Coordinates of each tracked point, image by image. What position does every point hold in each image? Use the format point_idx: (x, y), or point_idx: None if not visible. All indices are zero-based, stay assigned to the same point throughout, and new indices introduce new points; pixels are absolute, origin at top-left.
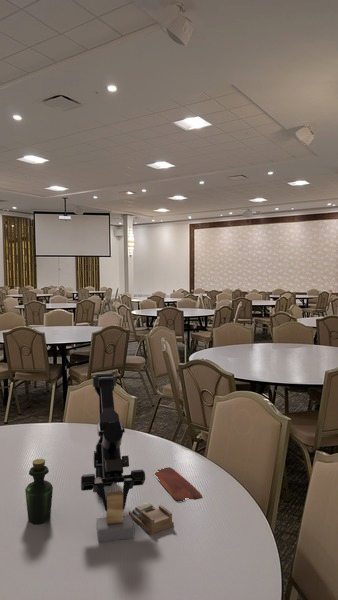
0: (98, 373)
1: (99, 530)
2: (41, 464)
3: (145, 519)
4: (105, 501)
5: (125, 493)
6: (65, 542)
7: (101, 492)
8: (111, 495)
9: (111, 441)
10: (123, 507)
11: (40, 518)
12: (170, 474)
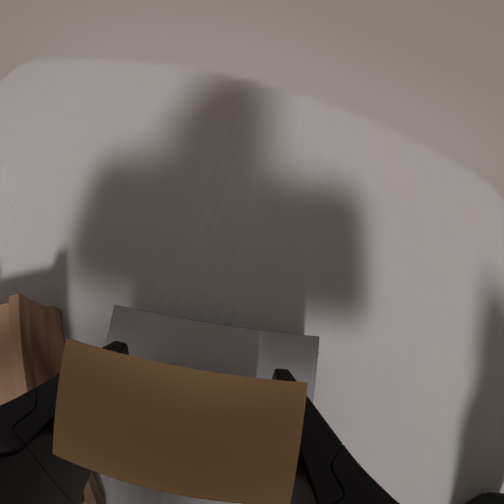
0: None
1: (309, 346)
2: None
3: (37, 364)
4: None
5: (36, 409)
6: (427, 376)
7: (363, 494)
8: (234, 384)
9: None
10: (122, 345)
11: (489, 499)
12: None
